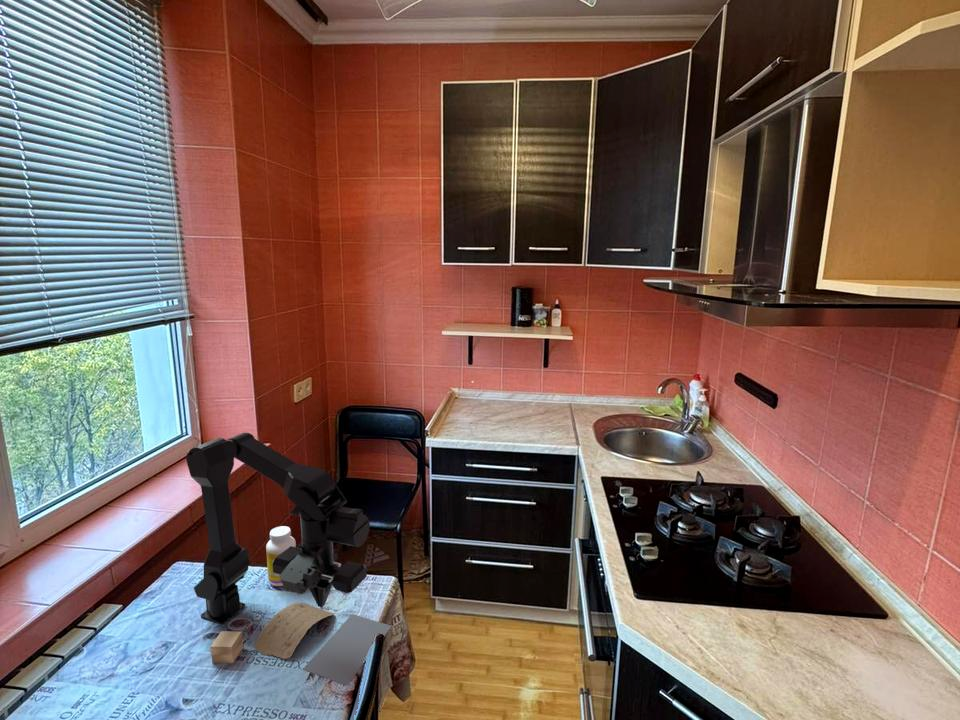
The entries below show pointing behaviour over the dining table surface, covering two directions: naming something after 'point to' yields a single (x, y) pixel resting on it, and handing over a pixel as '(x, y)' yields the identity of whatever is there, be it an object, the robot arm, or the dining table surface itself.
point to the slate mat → (346, 649)
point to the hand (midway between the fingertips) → (321, 605)
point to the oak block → (226, 647)
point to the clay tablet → (288, 629)
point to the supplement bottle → (277, 550)
